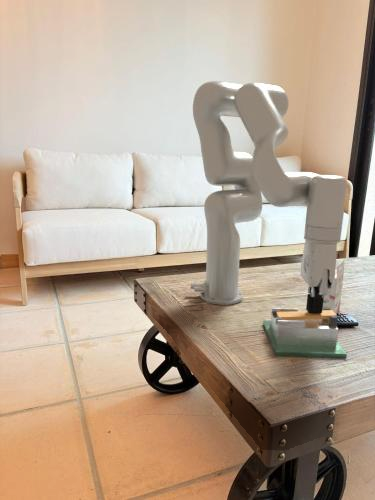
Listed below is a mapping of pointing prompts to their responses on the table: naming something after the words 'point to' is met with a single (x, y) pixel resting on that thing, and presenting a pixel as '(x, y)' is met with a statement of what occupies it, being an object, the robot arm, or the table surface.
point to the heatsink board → (304, 348)
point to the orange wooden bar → (305, 315)
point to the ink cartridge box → (335, 290)
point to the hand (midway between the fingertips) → (313, 311)
